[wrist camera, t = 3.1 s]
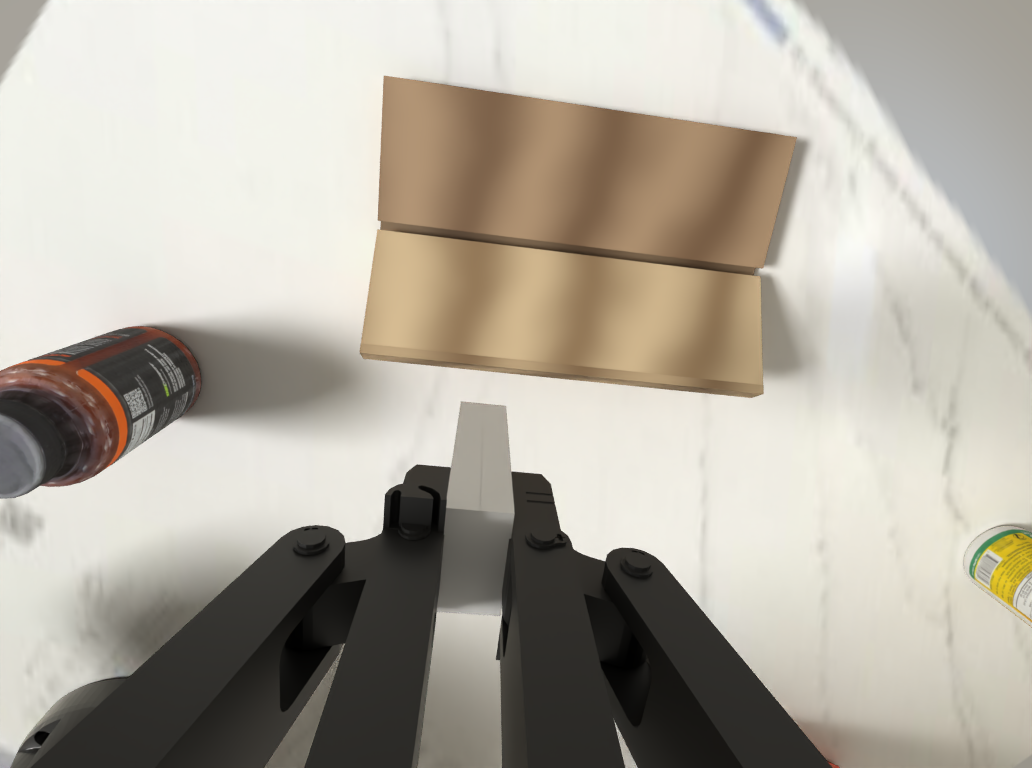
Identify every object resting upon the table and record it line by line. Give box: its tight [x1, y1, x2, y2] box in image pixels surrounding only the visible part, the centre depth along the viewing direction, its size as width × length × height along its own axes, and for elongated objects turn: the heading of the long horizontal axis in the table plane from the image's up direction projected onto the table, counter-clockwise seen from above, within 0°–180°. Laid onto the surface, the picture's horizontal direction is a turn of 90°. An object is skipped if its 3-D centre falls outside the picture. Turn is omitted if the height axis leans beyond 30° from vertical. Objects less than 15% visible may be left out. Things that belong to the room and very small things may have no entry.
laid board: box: [378, 76, 797, 276], centre depth 29 cm, size 22×8×1 cm, turn 83°
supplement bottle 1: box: [0, 326, 201, 498], centre depth 26 cm, size 6×6×11 cm
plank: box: [360, 230, 763, 398], centre depth 30 cm, size 22×7×1 cm, turn 83°
